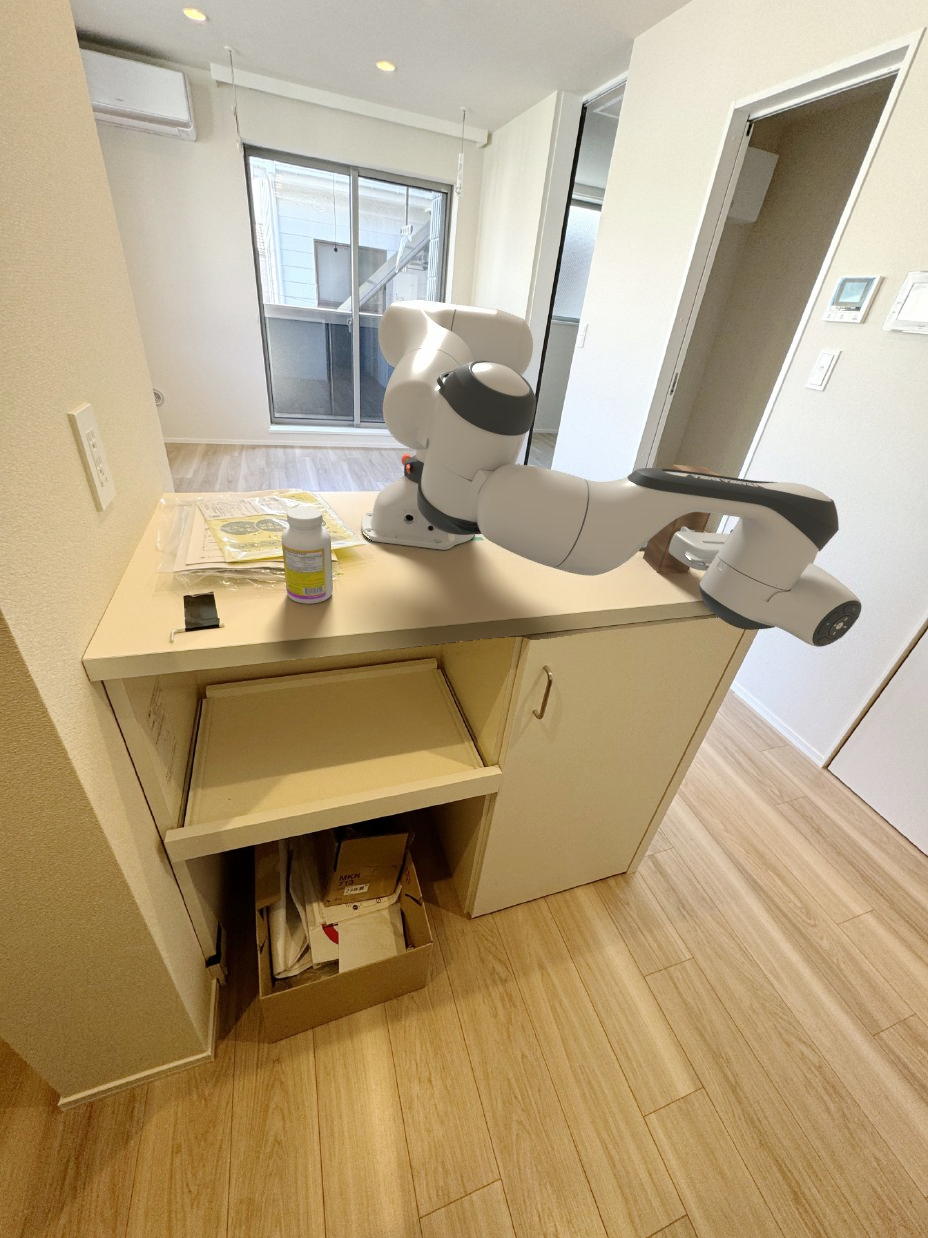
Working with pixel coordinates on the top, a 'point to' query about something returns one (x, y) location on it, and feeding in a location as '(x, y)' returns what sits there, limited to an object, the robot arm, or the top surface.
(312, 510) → the supplement bottle
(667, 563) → the block
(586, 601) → the top surface
